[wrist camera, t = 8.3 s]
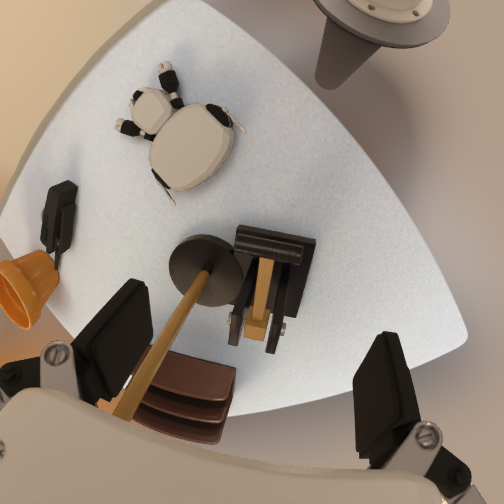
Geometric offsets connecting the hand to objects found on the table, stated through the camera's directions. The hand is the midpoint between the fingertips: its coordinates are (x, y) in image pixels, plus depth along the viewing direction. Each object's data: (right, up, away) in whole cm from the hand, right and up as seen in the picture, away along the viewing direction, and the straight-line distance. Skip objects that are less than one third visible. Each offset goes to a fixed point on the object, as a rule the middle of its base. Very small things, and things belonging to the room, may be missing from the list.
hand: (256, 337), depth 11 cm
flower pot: (-45, 0, +38) cm, 59 cm away
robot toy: (-9, +19, +21) cm, 30 cm away
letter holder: (-13, -21, +42) cm, 49 cm away
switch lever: (+1, 0, +16) cm, 16 cm away
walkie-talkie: (-32, +5, +30) cm, 44 cm away
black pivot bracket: (+2, +1, +28) cm, 28 cm away
